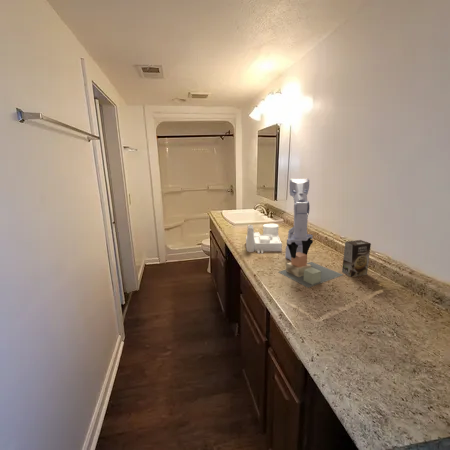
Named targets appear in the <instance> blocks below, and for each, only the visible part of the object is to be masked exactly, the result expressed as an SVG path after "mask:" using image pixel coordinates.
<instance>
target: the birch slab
mask: <svg viewBox="0 0 450 450" xmlns="http://www.w3.org/2000/svg"><path fill="white" fill-rule="evenodd" d="M285 264H286V265H285V267H286V268H285V270H286V271H287V272H289V273H291V274H293V275H295V276H297V277H301V276H304V270H305V269H308V268H311V265H310V264H307V265H305V266H302V267H297V266H295V265H293V264H291V261H290V262H287V263H285Z"/></svg>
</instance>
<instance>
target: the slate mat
mask: <svg viewBox="0 0 450 450" xmlns="http://www.w3.org/2000/svg"><path fill="white" fill-rule="evenodd" d="M307 264H310V265H311V268H315V269H317V270H319V271H321V279H320V282H318V283H316V284H313V285H312V284H310V283H308V282H306V281H304V276H301V277H297V276H295V275H293V274H291V273H289V272H287V271H286V269H282V270H279V271H278V274H281V275H282V276H285V277H287V278H288V279H290V280H292V281H295V282H296V283H299V284H300V285H302V286H304V287H305V288H308V289H309V288H312V287H314V286H317V285H320V284H323V283H326V282H328V281H330V280H334V279H337V278H340V277H342V276H344V273H343V274H342V273H340V272H337V271H335V270H333V269H330V268H328V267H326V266H323V265H320V264H318V263H315V262H313V261H309V262H307Z"/></svg>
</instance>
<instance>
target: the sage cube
mask: <svg viewBox="0 0 450 450" xmlns="http://www.w3.org/2000/svg"><path fill="white" fill-rule="evenodd" d="M320 279H321V271H319V270H317V269H315V268H308V269H305V270H304V281H306V282H308V283H310V284H312V285H313V284H316V283H318V282H320Z"/></svg>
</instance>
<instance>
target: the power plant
mask: <svg viewBox="0 0 450 450" xmlns="http://www.w3.org/2000/svg"><path fill="white" fill-rule="evenodd" d="M246 231H247V233H246V236H245V247H246V252H247V253H248V252H249V253H253V252H257V254H259V255H260V254H264V252H282V251H283V249H282V248H283V242H282V241H281V238H280V235H279V225H278V224H277V223H264V224H263V225H262V234H260V232H259V231H255V229H254V225H253V224H248V225H247V230H246Z"/></svg>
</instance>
